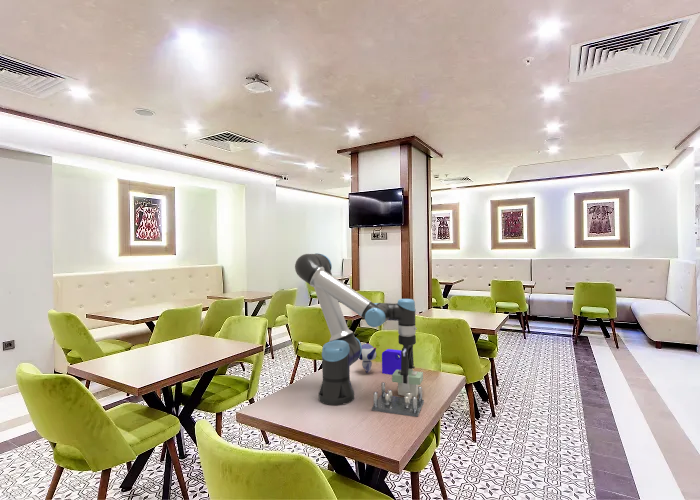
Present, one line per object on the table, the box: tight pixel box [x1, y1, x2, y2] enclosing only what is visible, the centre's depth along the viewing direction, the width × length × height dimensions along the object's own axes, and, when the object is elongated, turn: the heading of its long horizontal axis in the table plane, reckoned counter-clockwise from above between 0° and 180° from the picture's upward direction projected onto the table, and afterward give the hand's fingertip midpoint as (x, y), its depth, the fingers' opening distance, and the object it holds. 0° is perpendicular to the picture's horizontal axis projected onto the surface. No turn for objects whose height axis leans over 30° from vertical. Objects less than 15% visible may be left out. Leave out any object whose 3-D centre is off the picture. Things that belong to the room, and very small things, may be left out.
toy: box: [358, 343, 377, 374], centre depth 192 cm, size 11×10×15 cm
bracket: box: [381, 348, 402, 376], centre depth 196 cm, size 18×11×12 cm, turn 152°
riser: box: [397, 383, 419, 398], centre depth 162 cm, size 8×4×6 cm, turn 69°
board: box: [391, 370, 424, 386], centre depth 162 cm, size 12×8×4 cm, turn 69°
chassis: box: [371, 381, 425, 418], centre depth 149 cm, size 18×14×7 cm
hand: (407, 386), depth 162 cm, fingers closed on board, 8 cm apart
